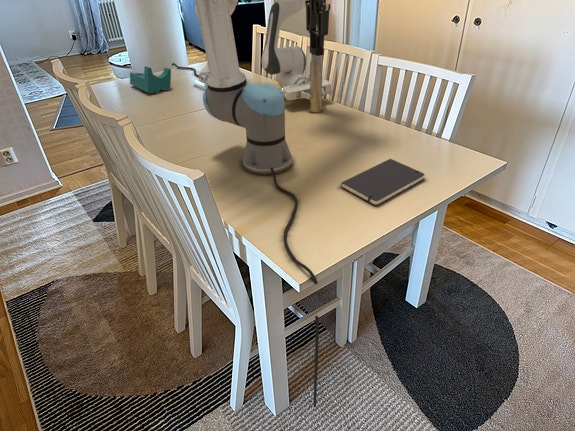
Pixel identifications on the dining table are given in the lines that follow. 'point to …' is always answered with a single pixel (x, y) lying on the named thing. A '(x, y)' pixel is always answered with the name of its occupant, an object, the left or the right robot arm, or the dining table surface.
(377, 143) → the dining table surface
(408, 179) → the notebook
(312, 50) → the cap
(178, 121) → the dining table surface
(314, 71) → the bottle
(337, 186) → the dining table surface
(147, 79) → the green notched holder
